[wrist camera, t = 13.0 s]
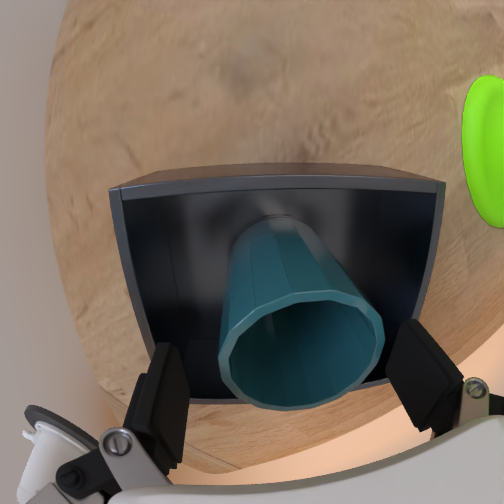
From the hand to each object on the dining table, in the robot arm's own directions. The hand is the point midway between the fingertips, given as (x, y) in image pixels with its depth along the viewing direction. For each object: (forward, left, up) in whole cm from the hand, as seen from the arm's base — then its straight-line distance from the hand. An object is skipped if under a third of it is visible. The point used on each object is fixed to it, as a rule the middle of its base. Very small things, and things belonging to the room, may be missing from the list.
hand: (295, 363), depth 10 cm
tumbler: (0, 0, -9) cm, 9 cm away
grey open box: (0, 0, -10) cm, 10 cm away
